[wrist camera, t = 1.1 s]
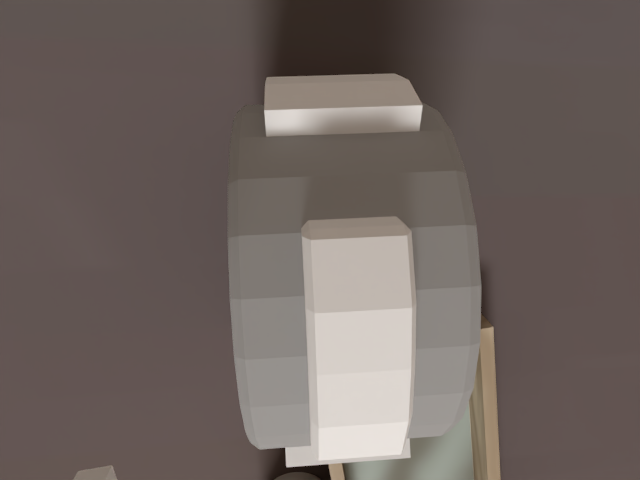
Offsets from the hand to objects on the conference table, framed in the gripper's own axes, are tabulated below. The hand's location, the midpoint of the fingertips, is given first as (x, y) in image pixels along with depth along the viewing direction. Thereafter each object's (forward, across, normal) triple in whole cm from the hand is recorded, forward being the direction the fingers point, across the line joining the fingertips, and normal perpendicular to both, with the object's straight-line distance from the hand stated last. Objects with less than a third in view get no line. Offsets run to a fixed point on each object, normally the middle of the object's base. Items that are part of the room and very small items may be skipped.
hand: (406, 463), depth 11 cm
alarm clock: (+24, 0, 0) cm, 24 cm away
